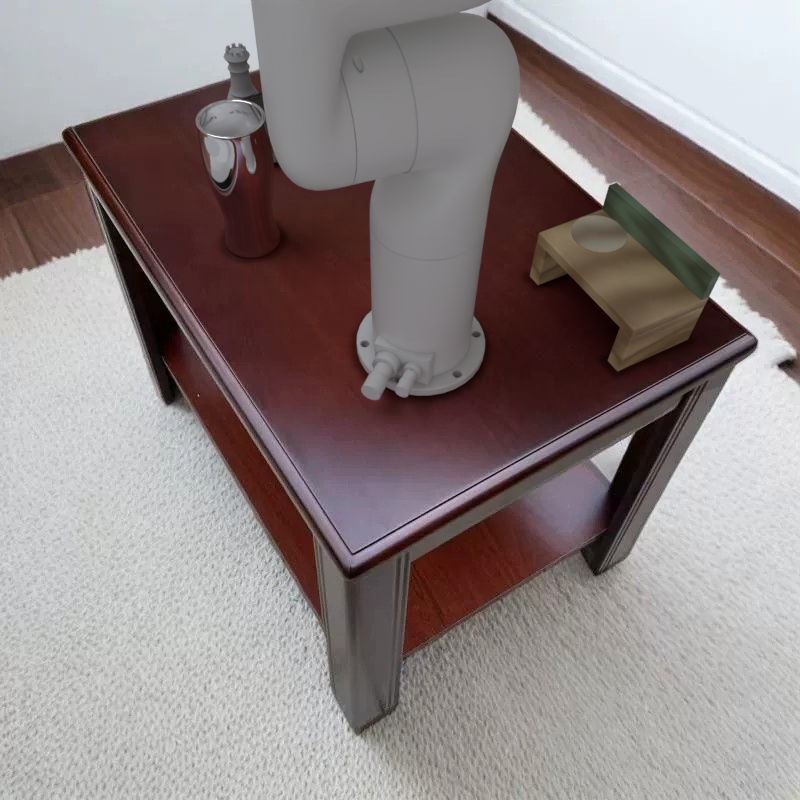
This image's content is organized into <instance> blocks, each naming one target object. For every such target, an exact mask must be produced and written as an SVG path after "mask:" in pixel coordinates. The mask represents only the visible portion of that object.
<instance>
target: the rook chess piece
mask: <svg viewBox="0 0 800 800" xmlns="http://www.w3.org/2000/svg"><path fill="white" fill-rule="evenodd" d="M230 45H231V46H230ZM237 45H238V46H237ZM237 45H236V42H232V43H231V44H227V45H226V46H225V50H224V51H225V52H224V53H223V59H224V60H225V61H226V62H227V63H228V65H227V70H228V71H229V75H230V87H229V90H228V93H227V97H226V100H227V99H242V98H246V97H249V96H252V95H255V94H258V93H259V90H257V88H256V86H255V85H254V84H253V81H252V77H251V74H250V67H251V65H250V64H249V63H248V60H249V58H250V56H251V54H250V52H249V51H248V50H247V47H246V45H244V44H243V43H241V42H239V43H238V44H237Z"/></svg>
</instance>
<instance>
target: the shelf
mask: <svg viewBox="0 0 800 800" xmlns="http://www.w3.org/2000/svg"><path fill="white" fill-rule="evenodd" d="M534 248H535V249H534V254H533V259H532V263H531V268H530V273H529V277H530V279H532V281H533V282H534V283H535V284H536V285H537V286H540V285H542V284H545V283H547V282H551V281H552V280H555V279H557V278H561V277H562V276H565V275H569V277H570V278H571V279H573V281H574V282H575V283H576V284H577V285H579V287H580V288H581V289H582V290H583V291H584V292H585V293H586V294H587V295H588V296H589V297H590V298H591V299H592V300H593V301H594V302H595V303H596V304H597V305H598V306H599V307H600V309H601V310H603V312H605V314H606V315H607V316H608V317H609V318H610V319H611V320H612V321H613V322H614V323H615V324H616V325H617V326H618V327H619V329H618V332H617V335H616V337H615V339H614V342H613V344H612V347H611V350H610V353H609V355H608V359H607V362H608V364H610V366H612V368H613V369H614V370H615V371H616V372H621V371H622V370H624V369H627V368H629V367H630V366H633V365H635V364H638V363H640V362H642V361H644V360H646V359H648V358H651V357H653V356H655V355H657V354H659V353H661V352H665V351H666V350H668V349H671V348H672V347H675V346H678V345H679V344H681V343H684V342H685V341H688V340H689V338H690V337H691V334H692V333H693V330H694V329H695V326H696V324H697V322H698V321H699V318H700V316H701V314H702V312H703V310H704V308H705V306H706V304H707V302H708V300H709V297H710V296H711V294H712V292H713V290H714V288H715V286H716V284H717V282H718V281H719V278H720V276H721V273H720V272H719V271H718V269H716V268H715V267H714V266H712V265H711V263H709V262H708V261H707V260H706V259H704V257H702V256H701V255H700V254H699V253H698V252H697V251H696V250H695V249H693V247H691V246H690V245H689V244H688V243H687V242H685V241H684V240H683V239H681V237H680V236H678V235H677V234H676V233H675V232H674V231H673V230H672V229H671V228H669V227H668V226H667V225H666V224H665V223H663V222H662V221H661V220H660V219H659V218H658V217H657V216H655V215H654V214H653V213H652V212H651V211H650V210H649V209H647V208H646V207H645V206H644V205H643V204H642V203H641V202H640V201H639V200H637V199H636V198H635V197H634V196H633V195H631V193H629V192H628V191H627V190H626V189H625V188H624V187H622V186H621V185H620V184H619V183H618V182H615V183H612V184H611V183H610V184H609V185H608V187H607V191H606V195H605V198H604V201H603V204H602V207H601V209H599V210H596V211H594V212H591V213H588V214H586V215H583V216H580V217H577V218H574V219H572V220H570V221H567V222H565V223H561V224H558V225H556V226H553V227H551V228H548V229H546V230H542V231H540V232H538V235H537V240H536V243H535V247H534Z"/></svg>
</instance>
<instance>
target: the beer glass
mask: <svg viewBox="0 0 800 800" xmlns="http://www.w3.org/2000/svg"><path fill="white" fill-rule="evenodd" d="M195 125H196V130H197V139H198V145H199V152H200V157H201V161H202V166H203V169H204V173H205V176H206V178H207V181H208V183H209V185H210V188H211V191H212V193H213V195H214V198H215V199H216V202H217V204H218V206H219V209H220V211H221V213H222V217H223V223H224V243H225V246H226V248H227V250H228V251H229V252H230V253H232V254H233V255H235V256H237V257H241V258H245V259H255V258H261V257H265V256H266V255H268V254H270V253H272V252H274V251H275V250H276V249H277V247H279V244H280V242H281V231H280V229H279V226H278V224H277V221H276V219H275V215H274V209H273V208H274V207H273V206H274V205H273V200H274V199H273V198H274V186H275V185H274V183H275V182H274V181H275V163H274V161H273V152H272V146H271V141H270V137H269V133H268V128H267V123H266V119H265V113H264V111H263V109H262V108H261V107H260V106H258V105H257V104H255V103H253V102H250V101H247V100H241V99H227V98H226V99H222V100H218V101H217V100H216V101H214V102H211V103H209V104H208V105H205V106H204V107H203V108H201V109H200V110H199V111H198V112H197V114H196V117H195Z"/></svg>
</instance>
